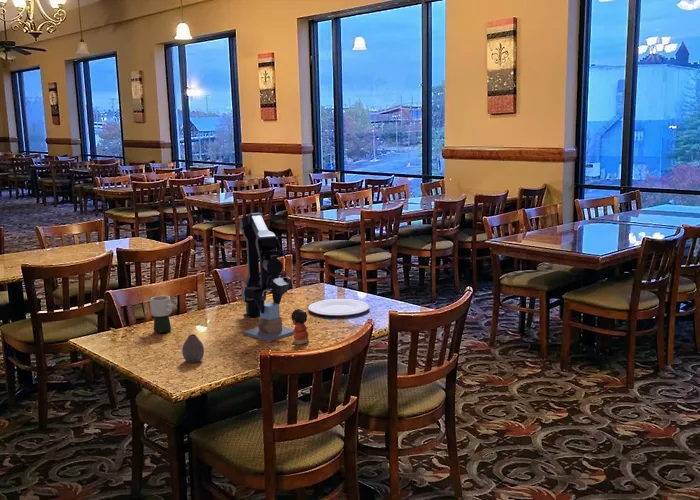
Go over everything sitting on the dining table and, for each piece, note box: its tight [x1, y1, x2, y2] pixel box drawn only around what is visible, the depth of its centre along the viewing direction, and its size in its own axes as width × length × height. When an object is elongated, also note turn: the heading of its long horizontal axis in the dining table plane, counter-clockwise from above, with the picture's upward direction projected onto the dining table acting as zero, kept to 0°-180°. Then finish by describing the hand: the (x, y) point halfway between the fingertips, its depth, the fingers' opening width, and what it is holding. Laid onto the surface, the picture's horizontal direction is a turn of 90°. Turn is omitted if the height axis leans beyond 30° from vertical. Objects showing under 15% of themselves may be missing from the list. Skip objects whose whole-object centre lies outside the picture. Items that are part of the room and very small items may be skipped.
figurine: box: [290, 308, 310, 345], centre depth 247 cm, size 6×6×12 cm
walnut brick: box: [257, 316, 283, 334], centre depth 258 cm, size 6×6×5 cm
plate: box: [308, 298, 370, 318], centre depth 288 cm, size 25×25×2 cm
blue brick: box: [259, 301, 281, 320], centre depth 257 cm, size 5×5×5 cm
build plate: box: [242, 325, 294, 343], centre depth 259 cm, size 14×14×1 cm
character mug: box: [149, 295, 173, 333], centre depth 262 cm, size 11×7×13 cm, turn 57°
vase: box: [181, 333, 205, 364], centre depth 230 cm, size 7×7×9 cm
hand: (269, 311), depth 257 cm, fingers open, 6 cm apart
